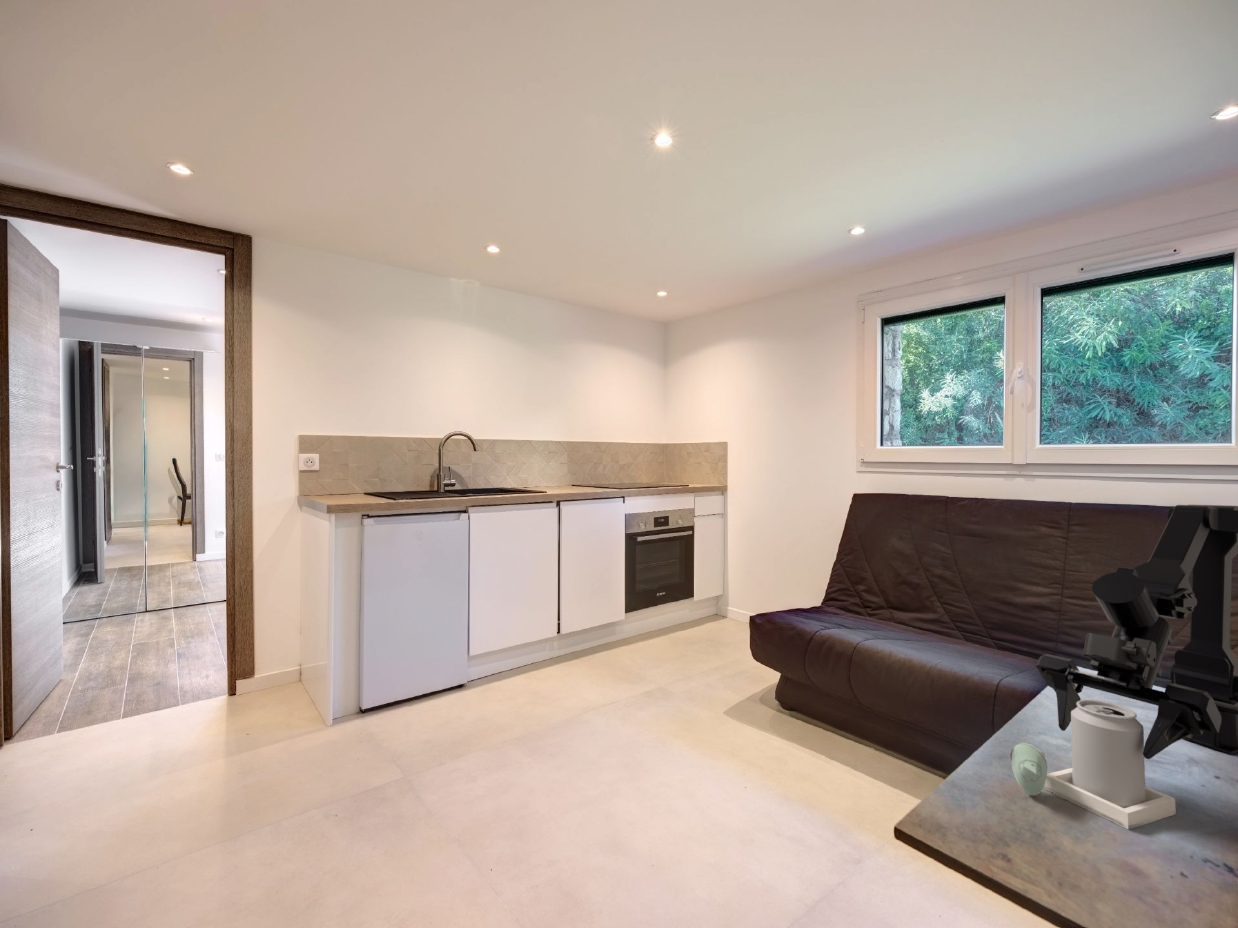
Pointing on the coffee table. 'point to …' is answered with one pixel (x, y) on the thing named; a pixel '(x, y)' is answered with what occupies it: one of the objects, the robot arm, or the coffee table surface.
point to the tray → (1124, 817)
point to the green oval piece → (1029, 767)
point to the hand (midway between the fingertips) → (1101, 742)
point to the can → (1108, 752)
